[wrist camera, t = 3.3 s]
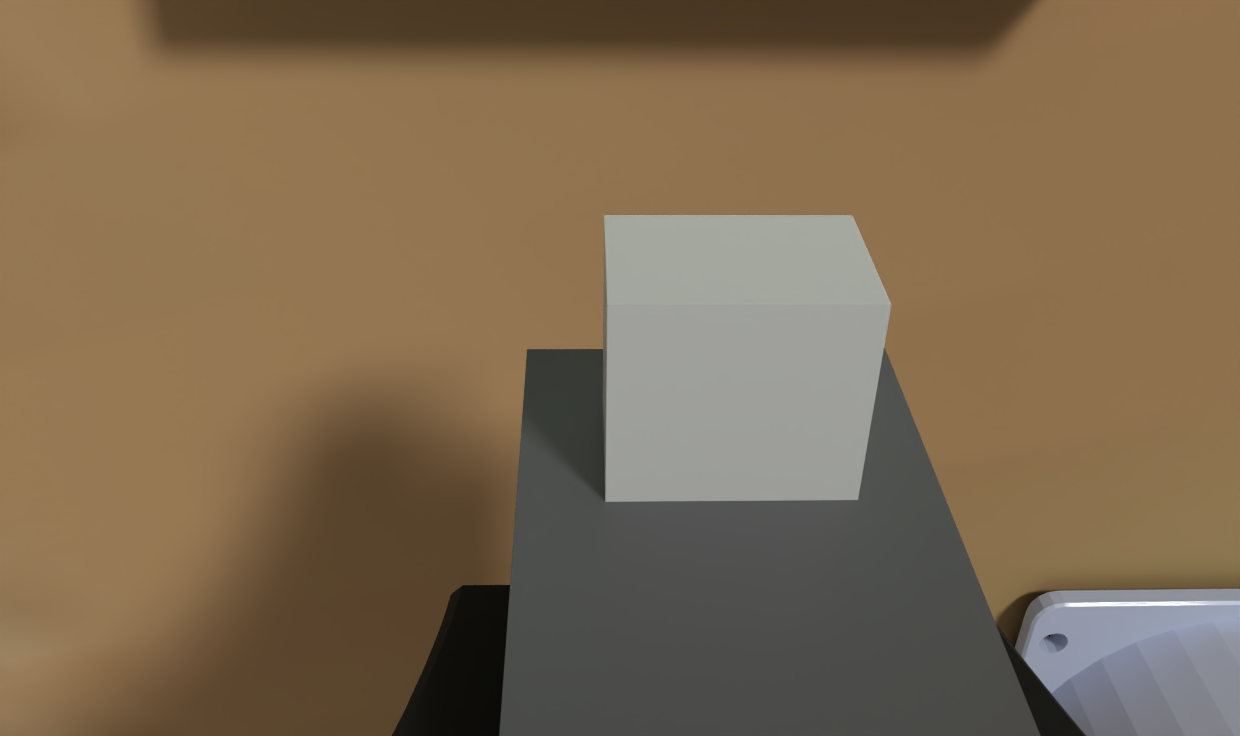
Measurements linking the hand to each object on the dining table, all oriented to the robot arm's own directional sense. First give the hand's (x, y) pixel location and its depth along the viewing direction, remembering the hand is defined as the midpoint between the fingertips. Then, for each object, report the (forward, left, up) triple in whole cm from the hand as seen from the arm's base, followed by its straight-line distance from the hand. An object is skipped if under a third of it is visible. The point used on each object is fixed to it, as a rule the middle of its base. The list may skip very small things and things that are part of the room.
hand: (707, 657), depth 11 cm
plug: (0, 0, -2) cm, 2 cm away
